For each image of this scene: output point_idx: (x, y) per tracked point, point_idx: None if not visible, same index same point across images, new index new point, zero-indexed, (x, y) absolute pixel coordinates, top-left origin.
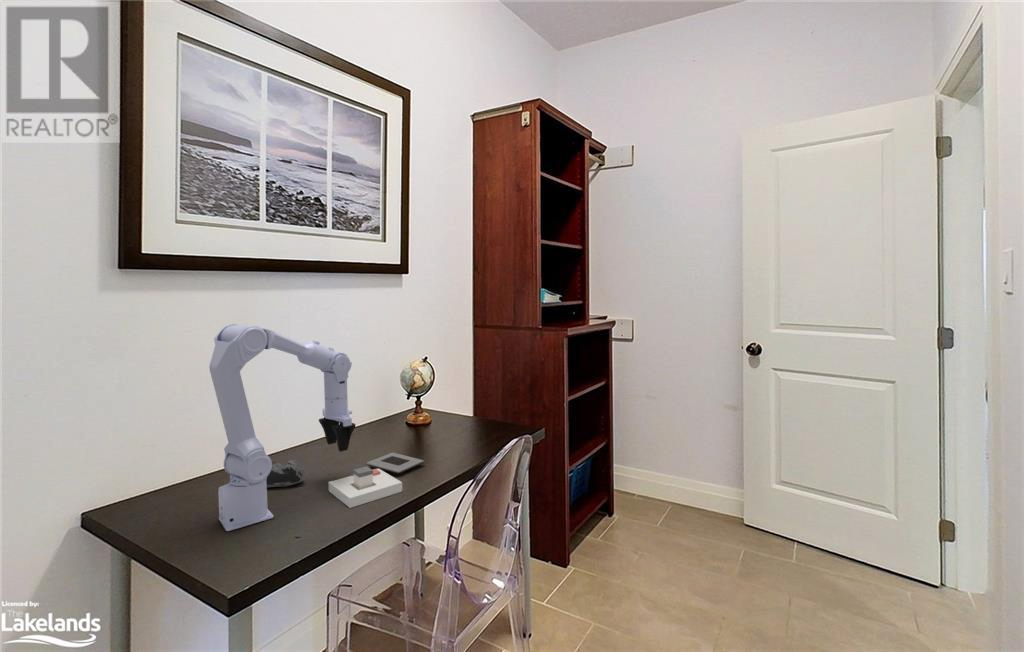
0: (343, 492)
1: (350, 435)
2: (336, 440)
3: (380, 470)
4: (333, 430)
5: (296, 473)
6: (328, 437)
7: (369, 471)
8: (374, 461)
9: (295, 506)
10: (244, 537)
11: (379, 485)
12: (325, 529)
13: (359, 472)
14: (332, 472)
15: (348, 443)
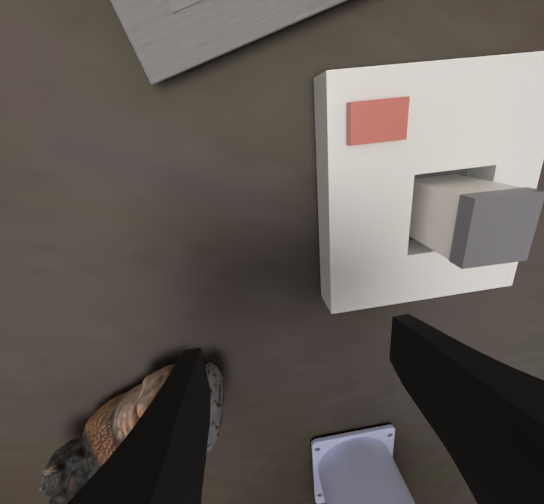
0: (457, 291)
1: (534, 382)
2: (198, 357)
3: (360, 74)
4: (182, 462)
5: (221, 409)
6: (205, 439)
7: (540, 209)
8: (153, 22)
9: (361, 381)
10: (430, 459)
11: (512, 159)
12: (532, 342)
13: (515, 255)
14: (132, 244)
15: (448, 339)
